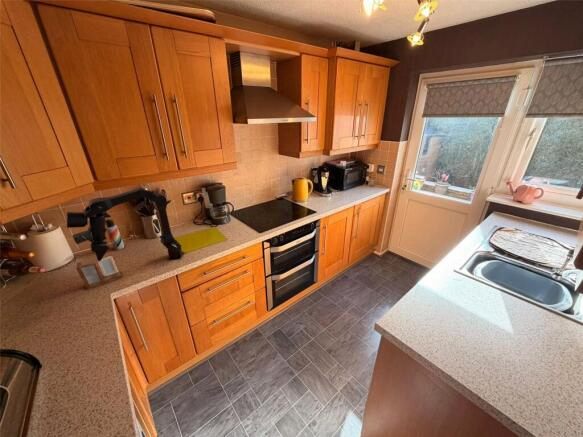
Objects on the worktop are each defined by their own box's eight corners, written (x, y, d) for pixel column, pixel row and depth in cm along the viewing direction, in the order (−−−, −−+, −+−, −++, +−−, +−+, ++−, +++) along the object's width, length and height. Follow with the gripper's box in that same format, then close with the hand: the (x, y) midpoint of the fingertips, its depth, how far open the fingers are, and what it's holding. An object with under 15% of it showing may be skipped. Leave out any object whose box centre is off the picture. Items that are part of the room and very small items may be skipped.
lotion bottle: (112, 250, 143) (100, 222, 134) (115, 246, 148) (104, 218, 139) (122, 249, 144) (111, 220, 135) (125, 244, 149) (115, 217, 140)
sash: (118, 271, 122) (111, 255, 118) (118, 272, 122) (111, 256, 117) (104, 275, 119) (97, 259, 115) (104, 276, 118) (97, 261, 114)
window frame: (120, 272, 124) (112, 252, 118) (121, 277, 120) (112, 257, 115) (87, 283, 116) (76, 263, 111) (86, 289, 113) (76, 268, 107)
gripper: (72, 220, 107) (73, 251, 111) (75, 234, 95) (76, 268, 98) (103, 219, 115) (103, 248, 119) (109, 232, 103) (109, 264, 106)
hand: (97, 256), depth 110 cm, fingers open, 9 cm apart
